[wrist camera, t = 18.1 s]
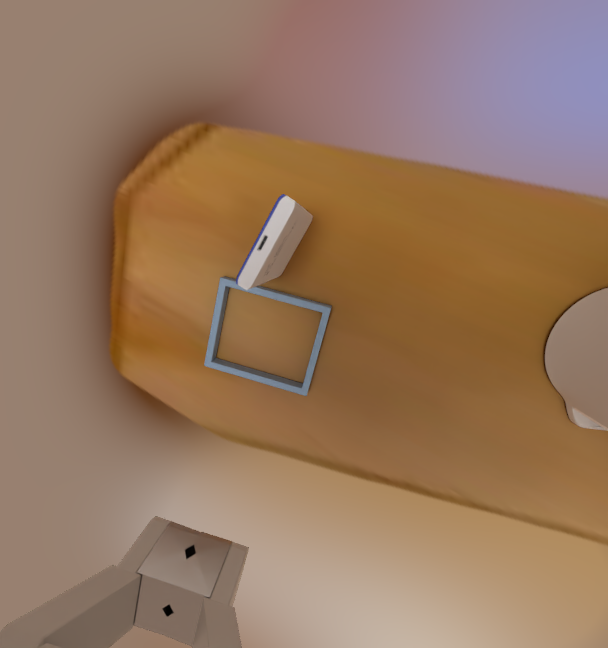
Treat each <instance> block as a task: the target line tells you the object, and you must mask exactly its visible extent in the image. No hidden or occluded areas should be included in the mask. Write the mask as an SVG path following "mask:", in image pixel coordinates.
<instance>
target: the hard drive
mask: <svg viewBox="0 0 608 648" xmlns="http://www.w3.org/2000/svg"><path fill="white" fill-rule="evenodd" d="M312 219H313V216H312V215H311V214H310V213H309V212H308V211H307V210H305V209H304V208H303V207H302V206H301V205H299V204H298V203H297V202H296V201H294V200H293V199H291V198H290V197H288V196H286V195H284V194H282V195H281V196H280V197H279V198H278V200H277V202H276V203H275V205H274V207H273V209H272V211H271V213H270V215H269V217H268V218H267V220H266V222H265V224H264V226H263V228H262V230H261V232H260V234H259V236H258V238H257V239H256V241H255V243H254V245H253V247H252V249H251V251H250V253H249V254H248V256H247V258H246V260H245V262H244V264H243V266H242V268H241V270H240V272H239V274H238V276H237V279H236V284H237V285H239V286H240V287H242V288H244V289H245V290H249V289H251V288H253V287H256V286H258V285H260V284H263V283H265V282H268V281H270V280H272V279H275V278H277V277H279V276H280V275H281V274H282V273H283V271H284V269H285V267H286V266H287V264H288V262H289V260H290V259H291V257H292V255H293V253H294V252H295V250H296V248H297V246H298V245H299V243H300V241H301V239H302V238H303V236H304V234H305V232H306V230H307V229H308V227H309V225H310V223H311V222H312Z"/></svg>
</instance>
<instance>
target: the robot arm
mask: <svg viewBox="0 0 608 648" xmlns="http://www.w3.org/2000/svg"><path fill="white" fill-rule="evenodd" d="M545 366H546V370H547V374H548V376H549V379H550V381H551V383H552V384H553V386H554V387H555V388H556V390H557V391H558V392H559V393H560V394H561V396H562V397H563V398H564V400H565V403H566V408H567V413H568V416H569V419H570V420H571V421H572V422H573V423H574V424H576V425H578V426H579V427H582V428H588V429H597V430H606V431H608V288H605V289H602V290H599V291H597V292H594V293H592V294H590V295H588V296H586V297H584V298H583V299H581V300H580V301H578V302H577V303H575V304H574V305H573V306H572V307H570V308H569V309H568V310H567V311H566V312H565V313H564V314H563V315H562V317H561V318H560V319H559V320H558V322H557V323H556V324H555V326H554V328H553V330H552V331H551V334H550V336H549V338H548V341H547V345H546V350H545ZM248 549H249V547H246V546H243V545H240V544H237V543H234V542H232V541H229V540H226V539H223V538H219V537H217V536H213V535H210V534H207V533H204V532H199V531H196V530H193V529H190V528H188V527H185V526H183V525H180V524H177V523H174V522H172V521H169V520H166V519H163V518H160V517H157V516H155V517H154V518H153V519H152V520H151V521H150V522H149V524H148V525H147V526H146V528H145V529H144V530H143V532H142V533H141V534H140V536H139V537H138V539H137V540H136V541H135V543H134V544H133V545H132V547H131V548H130V550H129V551H128V552H127V554H126V555H125V556H124V558H123V559H122V561H121V562H120V563H119V565H118V566H114V565H112V566H110V567H108V568H106V569H104V570H103V571H101V572H99V573H97V574H95V575H94V576H92V577H90V578H88V579H87V580H85V581H83V582H82V583H80V584H78V585H76V586H74V587H73V588H71V589H69V590H67V591H65V592H64V593H62V594H60V595H58V596H57V597H55V598H53V599H51V600H50V601H48V602H46V603H44V604H43V605H41V606H39V607H37V608H36V609H34V610H32V611H30V612H28V613H27V614H25V615H23V616H21V617H20V618H18V619H16V620H14V621H13V622H11V623H9V624H7V625H6V626H5V627H4V628H3V629H2V631H1V632H0V648H109V647H110V646H112V645H113V644H114V643H115V642H116V641H117V640H119V639H120V638H121V637H122V636H123V635H125V634H126V633H127V632H128V631H129V630H131V629H132V627H133V625H134V626H137V627H140V628H143V629H146V630H149V631H153V632H156V633H159V634H162V635H165V636H167V637H170V638H172V639H175V640H177V641H180V642H182V643H185V644H187V645H190V646H192V648H242V646H241V641H240V636H239V630H238V624H237V620H236V613H235V608H234V607H232V606H233V603H234V600H235V596H236V593H237V589H238V586H239V582H240V579H241V575H242V571H243V567H244V564H245V560H246V557H247V553H248Z"/></svg>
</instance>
